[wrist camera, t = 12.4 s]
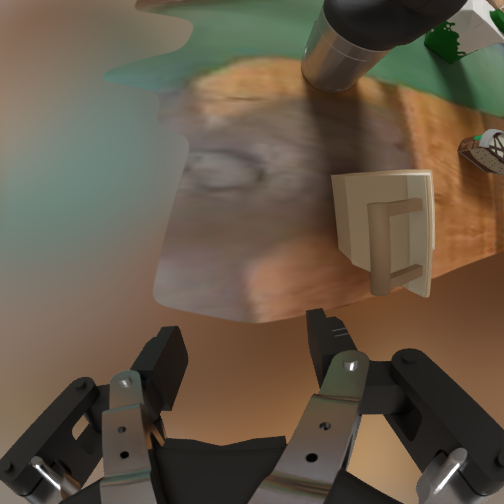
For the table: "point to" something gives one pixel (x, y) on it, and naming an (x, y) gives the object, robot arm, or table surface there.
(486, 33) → the milk carton
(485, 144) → the food container
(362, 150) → the table surface
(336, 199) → the carton
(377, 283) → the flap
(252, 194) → the table surface
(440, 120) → the table surface
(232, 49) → the table surface
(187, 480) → the robot arm
